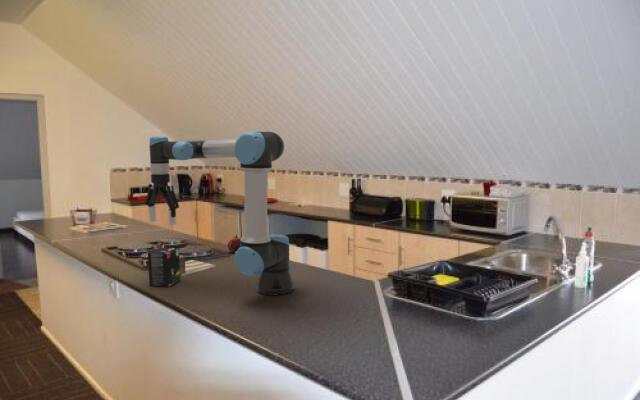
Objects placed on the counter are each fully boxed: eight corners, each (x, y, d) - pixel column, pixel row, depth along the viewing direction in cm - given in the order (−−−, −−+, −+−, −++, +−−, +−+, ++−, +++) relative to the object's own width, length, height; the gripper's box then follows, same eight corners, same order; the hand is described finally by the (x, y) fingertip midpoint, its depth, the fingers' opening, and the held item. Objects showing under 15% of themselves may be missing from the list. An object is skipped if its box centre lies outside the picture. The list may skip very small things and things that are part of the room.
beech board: (216, 266, 238) (216, 250, 237) (183, 276, 223) (182, 258, 221) (192, 261, 249) (191, 245, 248) (158, 269, 233) (158, 253, 232)
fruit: (242, 254, 262) (242, 236, 260) (225, 254, 263) (225, 236, 262) (247, 250, 271) (247, 233, 269) (231, 250, 272) (230, 232, 271)
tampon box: (168, 287, 206) (167, 253, 204) (148, 286, 208) (146, 252, 206) (181, 279, 217) (179, 247, 215) (161, 278, 219) (160, 246, 217)
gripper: (186, 174, 202) (188, 225, 205) (150, 171, 217) (152, 218, 220) (171, 175, 196) (173, 227, 199) (135, 172, 211) (137, 221, 214)
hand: (162, 223), depth 209 cm, fingers open, 13 cm apart
